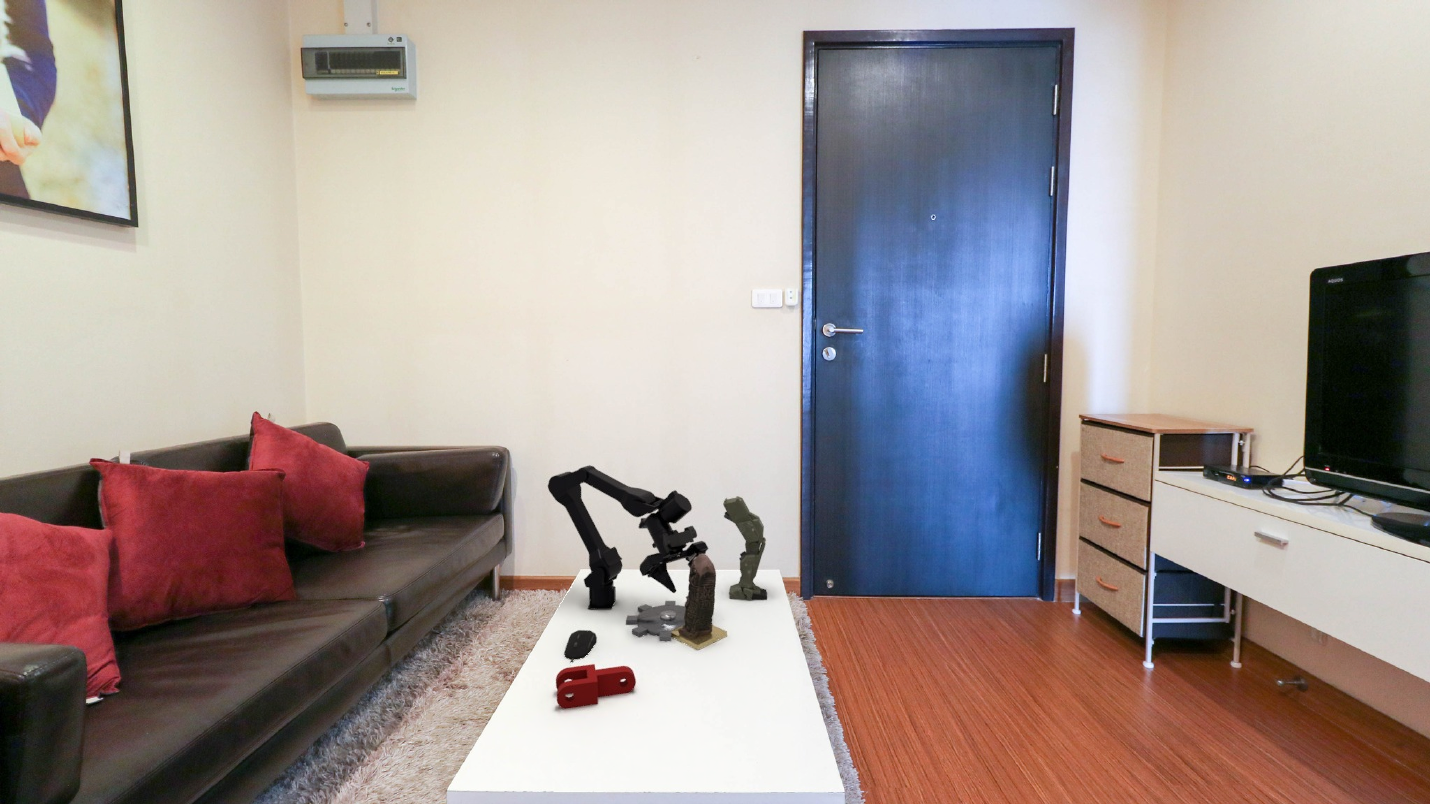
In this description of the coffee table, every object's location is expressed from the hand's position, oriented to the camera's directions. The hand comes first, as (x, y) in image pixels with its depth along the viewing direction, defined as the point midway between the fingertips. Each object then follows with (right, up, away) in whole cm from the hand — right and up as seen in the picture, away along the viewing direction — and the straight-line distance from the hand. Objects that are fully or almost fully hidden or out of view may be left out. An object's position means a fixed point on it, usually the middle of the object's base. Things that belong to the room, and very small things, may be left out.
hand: (689, 587), depth 158 cm
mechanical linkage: (-18, -15, -27) cm, 36 cm away
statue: (+2, -11, -2) cm, 11 cm away
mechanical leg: (+15, -9, +24) cm, 30 cm away
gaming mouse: (-26, -13, -8) cm, 30 cm away
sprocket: (-4, -11, +5) cm, 13 cm away
